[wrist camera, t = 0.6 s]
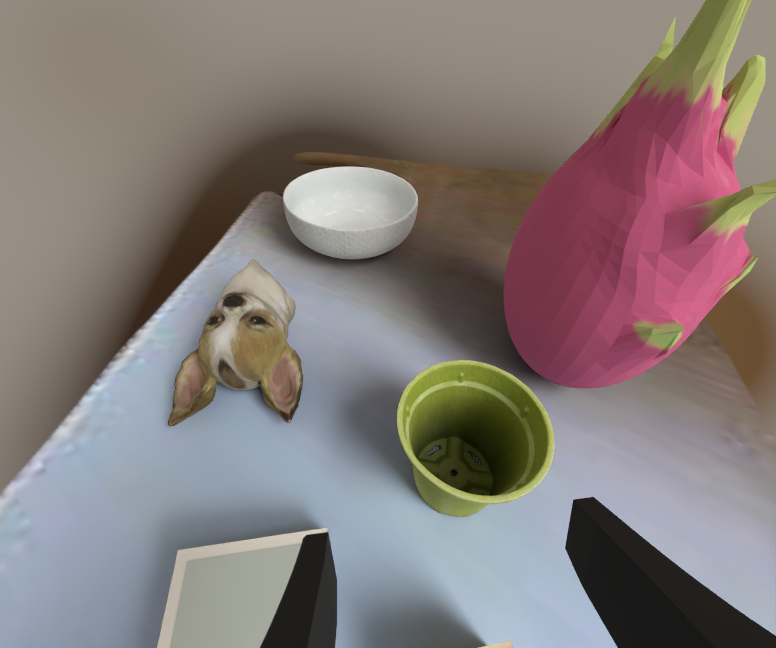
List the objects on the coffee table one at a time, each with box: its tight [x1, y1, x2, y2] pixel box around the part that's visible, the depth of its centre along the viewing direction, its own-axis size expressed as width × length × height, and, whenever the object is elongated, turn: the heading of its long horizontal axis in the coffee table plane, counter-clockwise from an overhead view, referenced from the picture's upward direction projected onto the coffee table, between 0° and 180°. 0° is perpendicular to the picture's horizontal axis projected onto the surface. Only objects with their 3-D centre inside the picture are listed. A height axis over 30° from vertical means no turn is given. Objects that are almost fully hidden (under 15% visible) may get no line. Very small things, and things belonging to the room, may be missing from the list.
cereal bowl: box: [283, 167, 418, 259], centre depth 48 cm, size 17×17×7 cm
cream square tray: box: [157, 528, 330, 648], centre depth 21 cm, size 9×9×2 cm
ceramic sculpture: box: [168, 259, 303, 426], centre depth 33 cm, size 11×9×15 cm
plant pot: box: [397, 360, 554, 517], centre depth 25 cm, size 9×9×9 cm
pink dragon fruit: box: [504, 0, 776, 388], centre depth 26 cm, size 18×14×30 cm
